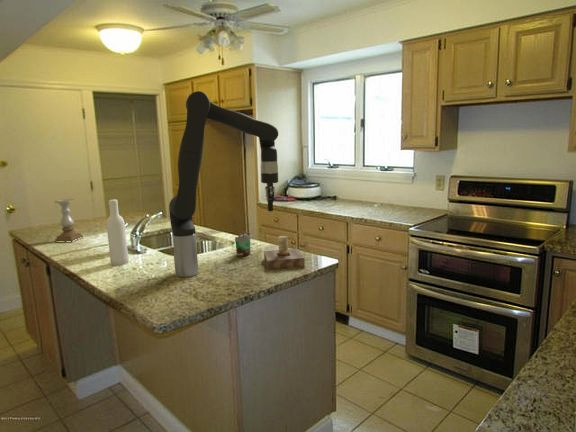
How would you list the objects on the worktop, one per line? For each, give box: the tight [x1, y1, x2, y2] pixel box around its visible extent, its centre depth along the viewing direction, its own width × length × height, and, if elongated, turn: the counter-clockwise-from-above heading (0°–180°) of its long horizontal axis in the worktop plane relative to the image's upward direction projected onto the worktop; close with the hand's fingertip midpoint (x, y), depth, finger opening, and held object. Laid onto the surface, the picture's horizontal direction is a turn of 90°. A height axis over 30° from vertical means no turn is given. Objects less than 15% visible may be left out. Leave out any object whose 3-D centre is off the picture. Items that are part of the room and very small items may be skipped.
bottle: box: [106, 198, 129, 266], centre depth 191 cm, size 8×8×30 cm
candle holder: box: [53, 198, 84, 242], centre depth 242 cm, size 11×11×24 cm
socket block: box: [263, 248, 305, 271], centre depth 186 cm, size 16×16×4 cm
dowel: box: [277, 235, 289, 256], centre depth 185 cm, size 4×4×12 cm
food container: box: [234, 231, 253, 258], centre depth 202 cm, size 12×6×10 cm, turn 168°
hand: (270, 211), depth 183 cm, fingers closed
